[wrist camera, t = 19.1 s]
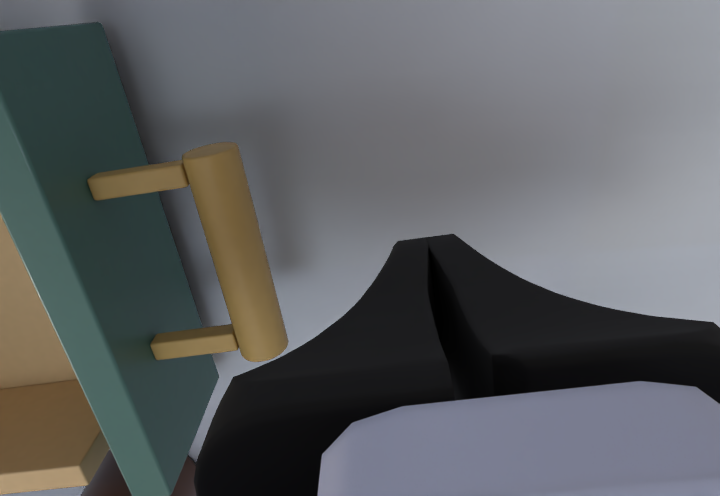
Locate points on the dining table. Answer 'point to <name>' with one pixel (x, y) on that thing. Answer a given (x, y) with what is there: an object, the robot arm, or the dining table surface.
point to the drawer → (109, 275)
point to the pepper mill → (112, 492)
